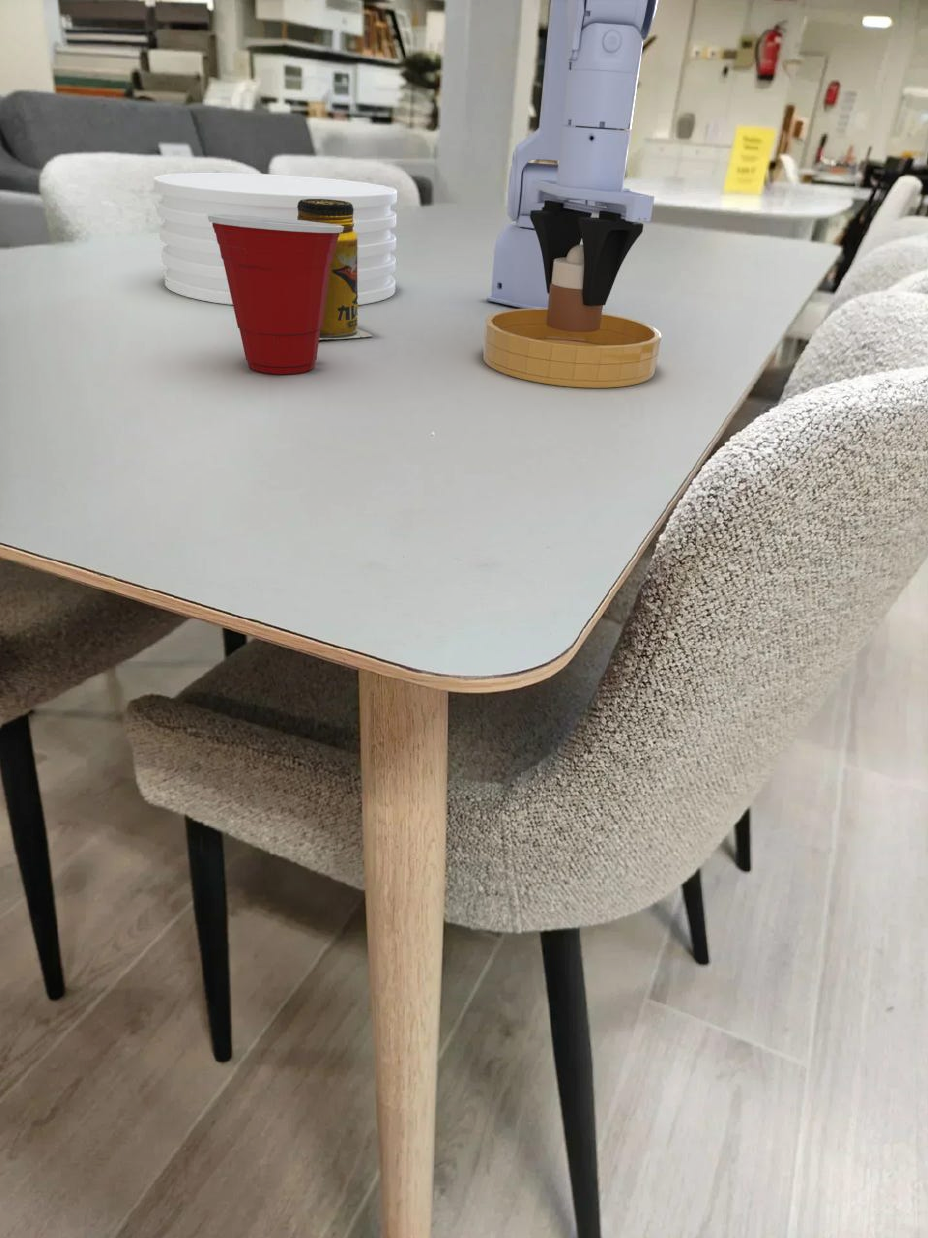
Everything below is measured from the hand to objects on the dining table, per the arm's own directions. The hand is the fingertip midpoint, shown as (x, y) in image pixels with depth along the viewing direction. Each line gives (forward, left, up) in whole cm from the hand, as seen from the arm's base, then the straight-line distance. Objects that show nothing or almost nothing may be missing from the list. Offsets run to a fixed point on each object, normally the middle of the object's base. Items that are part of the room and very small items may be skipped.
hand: (575, 299), depth 79 cm
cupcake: (0, 0, -2) cm, 2 cm away
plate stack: (-45, +2, -6) cm, 45 cm away
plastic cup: (-15, -22, -6) cm, 27 cm away
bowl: (0, 0, -6) cm, 6 cm away
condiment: (-23, -11, -6) cm, 26 cm away
